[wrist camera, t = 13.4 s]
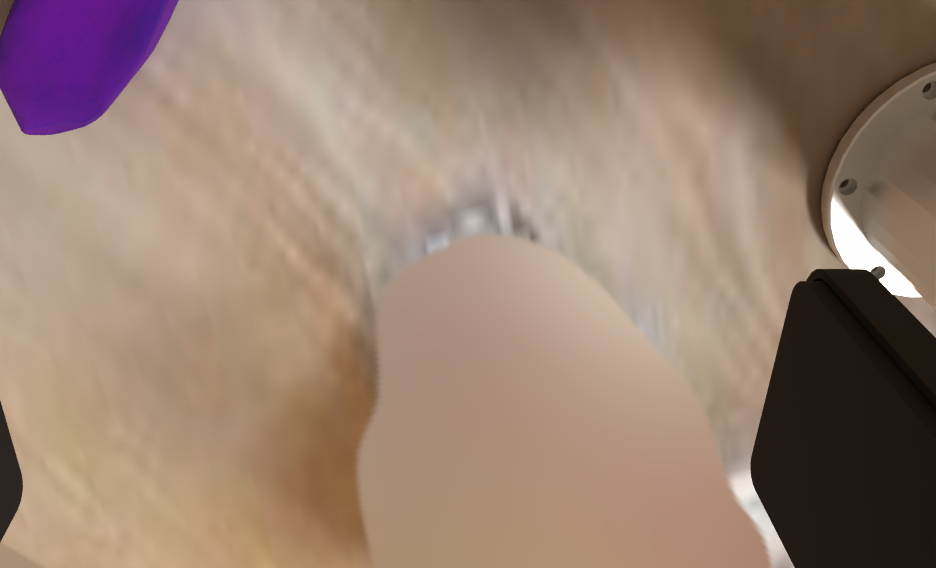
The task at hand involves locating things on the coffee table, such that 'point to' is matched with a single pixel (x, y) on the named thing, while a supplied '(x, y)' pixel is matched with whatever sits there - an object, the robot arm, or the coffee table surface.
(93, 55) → the purple petal shape
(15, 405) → the coffee table surface
